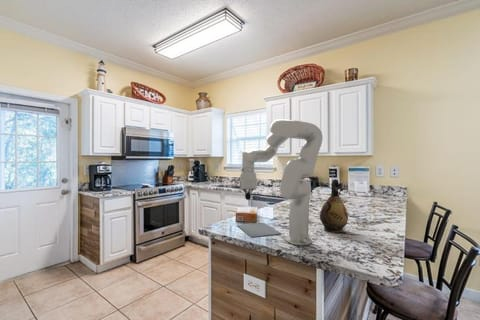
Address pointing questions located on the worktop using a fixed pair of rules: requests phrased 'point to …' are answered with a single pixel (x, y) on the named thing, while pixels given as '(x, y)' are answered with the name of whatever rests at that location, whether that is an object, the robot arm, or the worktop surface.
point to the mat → (258, 230)
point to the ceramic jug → (334, 211)
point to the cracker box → (246, 214)
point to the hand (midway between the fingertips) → (247, 199)
